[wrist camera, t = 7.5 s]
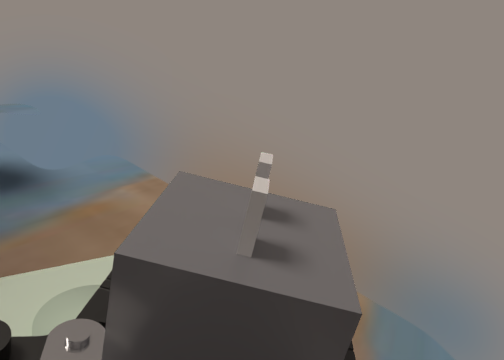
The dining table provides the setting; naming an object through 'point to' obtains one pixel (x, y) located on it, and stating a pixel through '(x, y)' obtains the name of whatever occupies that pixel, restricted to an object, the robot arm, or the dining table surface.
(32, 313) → the motion sensor
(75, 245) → the dining table surface
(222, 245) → the charger brick
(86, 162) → the dining table surface
